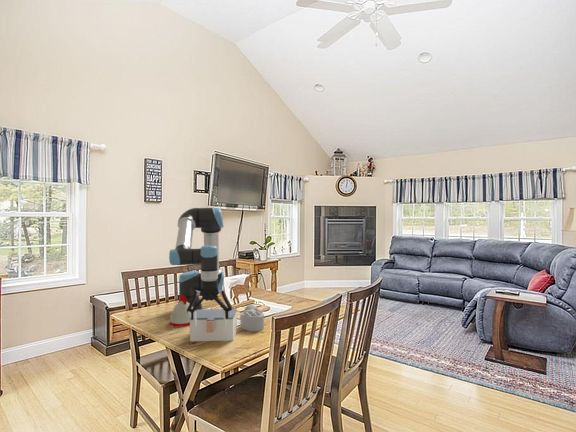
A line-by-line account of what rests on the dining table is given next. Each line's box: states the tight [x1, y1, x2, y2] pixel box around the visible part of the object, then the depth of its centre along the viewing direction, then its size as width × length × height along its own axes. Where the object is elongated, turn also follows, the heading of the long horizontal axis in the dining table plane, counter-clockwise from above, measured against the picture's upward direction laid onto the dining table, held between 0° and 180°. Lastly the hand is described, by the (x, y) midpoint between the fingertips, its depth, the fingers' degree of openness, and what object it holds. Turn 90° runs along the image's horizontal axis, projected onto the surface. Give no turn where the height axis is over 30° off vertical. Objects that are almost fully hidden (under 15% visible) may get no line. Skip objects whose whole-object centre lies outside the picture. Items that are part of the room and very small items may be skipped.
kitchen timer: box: [169, 295, 196, 328], centre depth 189 cm, size 14×14×15 cm
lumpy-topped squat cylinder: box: [240, 308, 265, 332], centre depth 180 cm, size 10×13×9 cm
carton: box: [189, 311, 238, 342], centre depth 168 cm, size 14×20×10 cm
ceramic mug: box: [243, 304, 266, 318], centre depth 193 cm, size 11×8×8 cm
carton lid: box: [190, 308, 238, 333], centre depth 166 cm, size 18×20×6 cm
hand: (210, 326), depth 158 cm, fingers open, 13 cm apart
